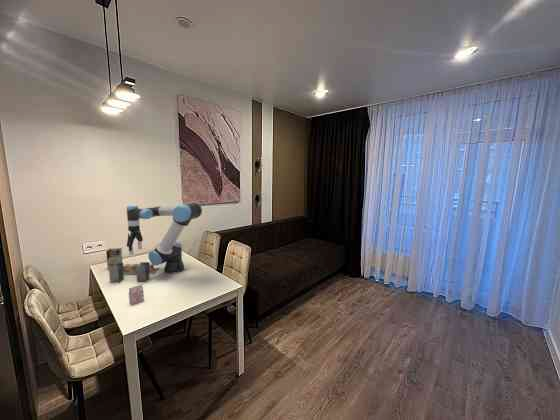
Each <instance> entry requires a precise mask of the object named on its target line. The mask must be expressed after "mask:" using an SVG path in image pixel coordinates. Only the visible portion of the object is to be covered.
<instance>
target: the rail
mask: <svg viewBox="0 0 560 420" xmlns="http://www.w3.org/2000/svg"><path fill="white" fill-rule="evenodd" d="M136 266H140V263H123V272H137V270H136ZM154 268H155V265H153V264H152V263H151V262H149V272H152V271H153V270H154Z"/></svg>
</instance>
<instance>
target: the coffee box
mask: <svg viewBox="0 0 560 420" xmlns="http://www.w3.org/2000/svg"><path fill="white" fill-rule="evenodd" d="M122 248H123V247H122ZM122 248H121V247H120V248H117V247H116V248H108V249H107V250H106V252H105V253H106V263H107V264H106V265H107V268H108V266H114V263H123V251H122V250H123V249H122Z"/></svg>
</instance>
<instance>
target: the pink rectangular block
mask: <svg viewBox="0 0 560 420" xmlns="http://www.w3.org/2000/svg"><path fill="white" fill-rule="evenodd" d="M144 295H145V293H144V288H143V284H142V283H141V284H138V285H136V286H132V287H129V291H128V302H129V304H130V305H131V306H133V305H136V304H138V303H142V302H143V301H145V296H144Z"/></svg>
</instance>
